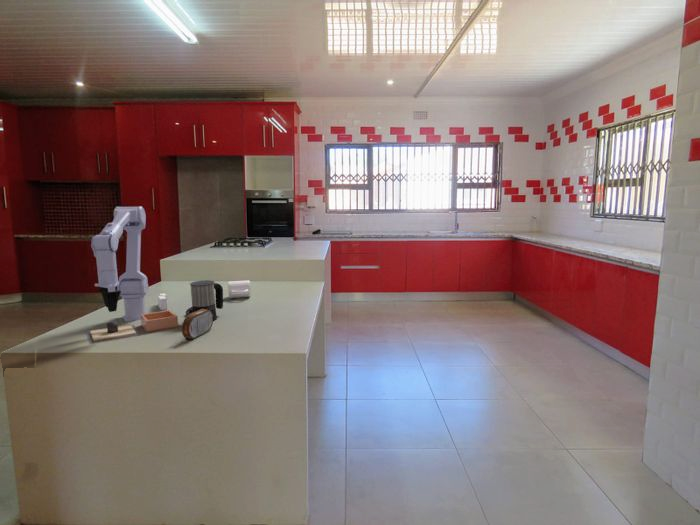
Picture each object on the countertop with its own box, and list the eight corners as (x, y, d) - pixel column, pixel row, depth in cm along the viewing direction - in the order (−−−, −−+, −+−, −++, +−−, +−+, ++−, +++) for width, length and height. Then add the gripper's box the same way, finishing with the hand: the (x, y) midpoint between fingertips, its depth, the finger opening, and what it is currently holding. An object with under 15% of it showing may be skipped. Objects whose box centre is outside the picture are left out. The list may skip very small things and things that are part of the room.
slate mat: (86, 334, 146) (85, 332, 146) (133, 326, 154) (133, 324, 154) (90, 345, 134) (89, 344, 134) (141, 336, 143) (141, 335, 142)
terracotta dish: (141, 326, 154) (140, 314, 153) (171, 321, 160) (170, 310, 159) (147, 333, 146) (146, 321, 145) (178, 328, 152) (177, 316, 151)
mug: (228, 296, 202) (227, 280, 201) (249, 294, 205) (248, 278, 204) (229, 302, 190) (228, 285, 189) (251, 300, 193) (250, 283, 192)
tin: (207, 328, 151) (206, 305, 150) (215, 328, 151) (214, 306, 149) (181, 342, 137) (179, 317, 136) (190, 342, 136) (188, 317, 135)
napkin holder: (168, 312, 175) (167, 299, 174) (142, 311, 176) (141, 298, 175) (185, 303, 190) (184, 291, 189) (161, 303, 191) (160, 291, 190)
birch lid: (90, 332, 145) (89, 321, 145) (130, 326, 153) (129, 315, 152) (94, 342, 135) (92, 330, 135) (136, 334, 143) (135, 323, 142)
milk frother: (209, 323, 157) (206, 285, 155) (171, 321, 160) (169, 283, 158) (227, 313, 171) (225, 278, 169) (192, 311, 174) (190, 277, 172)
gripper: (91, 268, 144) (95, 306, 146) (95, 274, 133) (100, 315, 135) (114, 266, 148) (117, 303, 150) (120, 271, 137) (124, 311, 139)
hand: (111, 308), depth 143 cm, fingers open, 7 cm apart
